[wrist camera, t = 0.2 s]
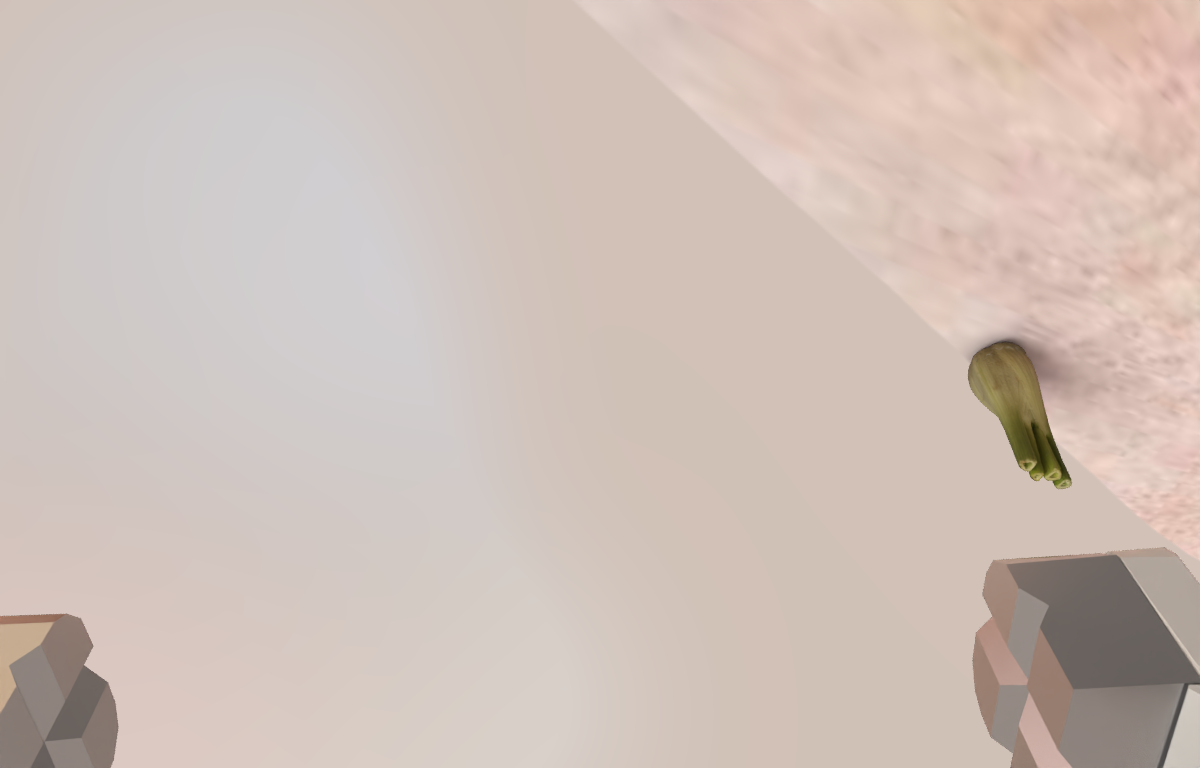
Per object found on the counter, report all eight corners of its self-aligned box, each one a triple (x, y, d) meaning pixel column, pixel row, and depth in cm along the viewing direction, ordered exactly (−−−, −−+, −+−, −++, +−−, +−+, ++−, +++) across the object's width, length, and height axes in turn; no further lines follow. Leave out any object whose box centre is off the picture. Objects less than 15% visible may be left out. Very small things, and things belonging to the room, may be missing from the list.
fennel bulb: (1030, 368, 88) (1084, 489, 80) (970, 388, 89) (1016, 509, 81) (1018, 324, 84) (1073, 447, 76) (955, 346, 85) (1002, 469, 77)
